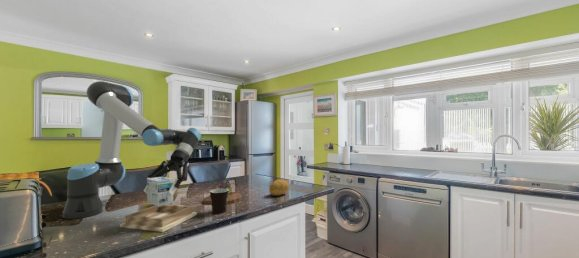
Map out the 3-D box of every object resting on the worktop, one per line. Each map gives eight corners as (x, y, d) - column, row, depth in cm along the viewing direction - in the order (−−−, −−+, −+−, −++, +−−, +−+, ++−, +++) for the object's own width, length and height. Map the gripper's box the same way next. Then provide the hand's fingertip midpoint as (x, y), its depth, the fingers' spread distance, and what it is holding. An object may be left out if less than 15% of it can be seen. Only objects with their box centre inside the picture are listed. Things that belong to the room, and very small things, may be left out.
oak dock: (120, 227, 103) (120, 216, 103) (159, 211, 124) (159, 202, 124) (162, 231, 98) (162, 220, 98) (196, 214, 118) (196, 205, 118)
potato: (265, 179, 154) (273, 180, 147) (282, 178, 162) (291, 178, 155) (265, 195, 153) (274, 197, 146) (283, 193, 161) (292, 194, 154)
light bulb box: (174, 203, 109) (173, 178, 109) (157, 207, 104) (157, 180, 104) (162, 199, 115) (161, 175, 116) (146, 203, 110) (146, 178, 110)
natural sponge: (158, 207, 131) (158, 187, 131) (159, 203, 139) (159, 184, 140) (177, 205, 135) (177, 186, 135) (178, 201, 143) (177, 183, 143)
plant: (245, 196, 153) (245, 177, 153) (234, 205, 134) (234, 184, 134) (213, 195, 155) (213, 177, 156) (198, 204, 136) (198, 183, 136)
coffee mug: (223, 214, 118) (223, 193, 118) (206, 213, 119) (206, 192, 119) (234, 207, 129) (233, 187, 129) (218, 206, 131) (218, 187, 131)
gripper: (206, 159, 123) (186, 199, 108) (165, 159, 129) (140, 196, 114) (199, 149, 118) (177, 189, 103) (156, 149, 124) (129, 187, 109)
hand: (157, 193), depth 108 cm, fingers closed on light bulb box, 12 cm apart
